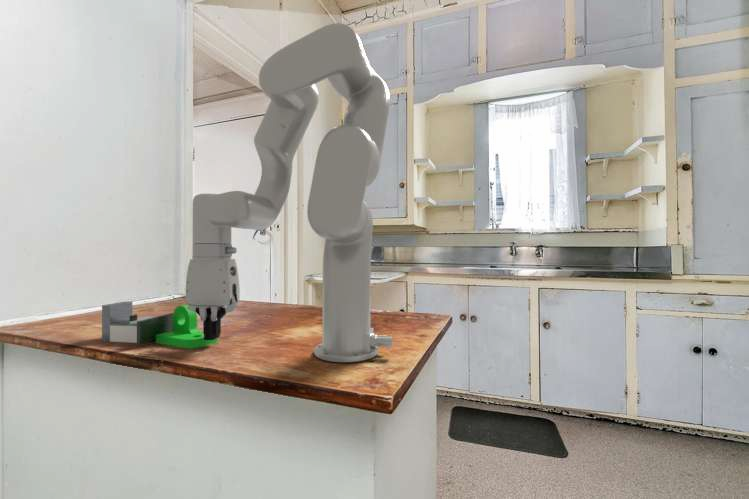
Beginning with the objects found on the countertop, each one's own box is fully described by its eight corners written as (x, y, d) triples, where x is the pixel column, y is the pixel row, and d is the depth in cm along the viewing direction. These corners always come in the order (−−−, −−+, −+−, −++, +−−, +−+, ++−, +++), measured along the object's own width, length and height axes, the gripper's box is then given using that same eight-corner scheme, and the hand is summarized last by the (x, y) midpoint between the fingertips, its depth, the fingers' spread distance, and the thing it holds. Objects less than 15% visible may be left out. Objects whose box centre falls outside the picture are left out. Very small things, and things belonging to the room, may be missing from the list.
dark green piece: (174, 332, 82) (174, 310, 82) (140, 344, 72) (140, 319, 72) (149, 331, 82) (149, 310, 82) (112, 342, 73) (112, 318, 73)
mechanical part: (155, 343, 76) (155, 307, 76) (180, 337, 81) (181, 303, 81) (192, 350, 71) (192, 311, 71) (217, 343, 76) (217, 307, 76)
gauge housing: (160, 336, 82) (160, 302, 82) (139, 342, 76) (139, 306, 76) (124, 334, 83) (124, 301, 83) (101, 341, 77) (102, 305, 77)
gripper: (253, 252, 76) (253, 335, 76) (191, 252, 78) (191, 333, 78) (235, 253, 69) (235, 344, 69) (167, 252, 71) (167, 342, 71)
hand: (212, 338), depth 73 cm, fingers closed
